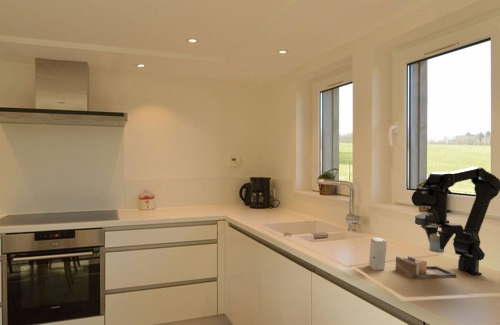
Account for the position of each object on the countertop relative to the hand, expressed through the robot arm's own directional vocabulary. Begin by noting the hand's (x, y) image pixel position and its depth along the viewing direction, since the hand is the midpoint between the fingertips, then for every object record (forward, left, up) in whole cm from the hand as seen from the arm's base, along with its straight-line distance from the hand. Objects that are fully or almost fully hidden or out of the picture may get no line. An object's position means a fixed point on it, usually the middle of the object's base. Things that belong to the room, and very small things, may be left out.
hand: (436, 247), depth 133 cm
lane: (+5, 0, -11) cm, 12 cm away
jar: (+7, 0, -10) cm, 12 cm away
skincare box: (+20, -8, -11) cm, 24 cm away
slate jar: (0, 0, -1) cm, 1 cm away
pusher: (+11, 0, -9) cm, 14 cm away
